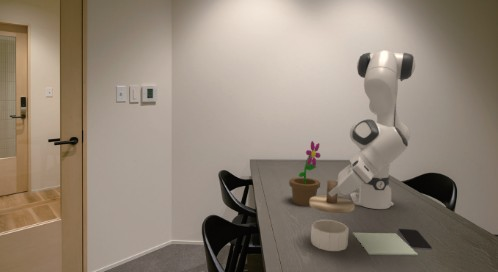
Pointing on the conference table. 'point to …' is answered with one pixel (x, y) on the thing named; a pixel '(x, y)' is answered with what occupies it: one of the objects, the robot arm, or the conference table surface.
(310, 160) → the flowerpot
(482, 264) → the conference table surface
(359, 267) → the conference table surface
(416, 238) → the smartphone
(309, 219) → the conference table surface
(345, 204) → the lid
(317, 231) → the bowl
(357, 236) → the mat
